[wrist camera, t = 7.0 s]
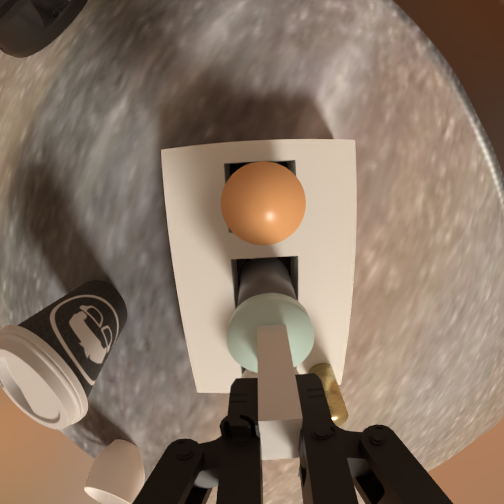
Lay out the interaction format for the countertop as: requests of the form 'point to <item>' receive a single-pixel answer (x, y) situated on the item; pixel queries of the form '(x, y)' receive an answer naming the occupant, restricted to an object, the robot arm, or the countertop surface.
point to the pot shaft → (331, 392)
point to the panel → (260, 247)
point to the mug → (116, 474)
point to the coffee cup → (61, 353)
